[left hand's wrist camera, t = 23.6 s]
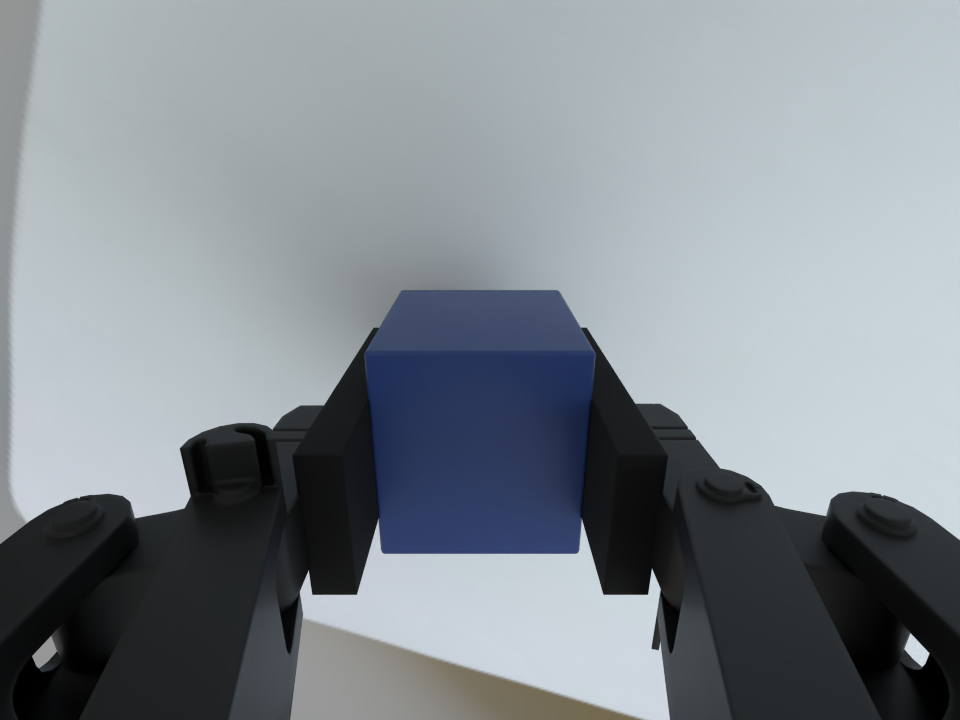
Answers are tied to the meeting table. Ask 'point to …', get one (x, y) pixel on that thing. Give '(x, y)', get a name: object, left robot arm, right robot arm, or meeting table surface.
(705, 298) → the meeting table surface
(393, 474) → the block
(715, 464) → the left robot arm
